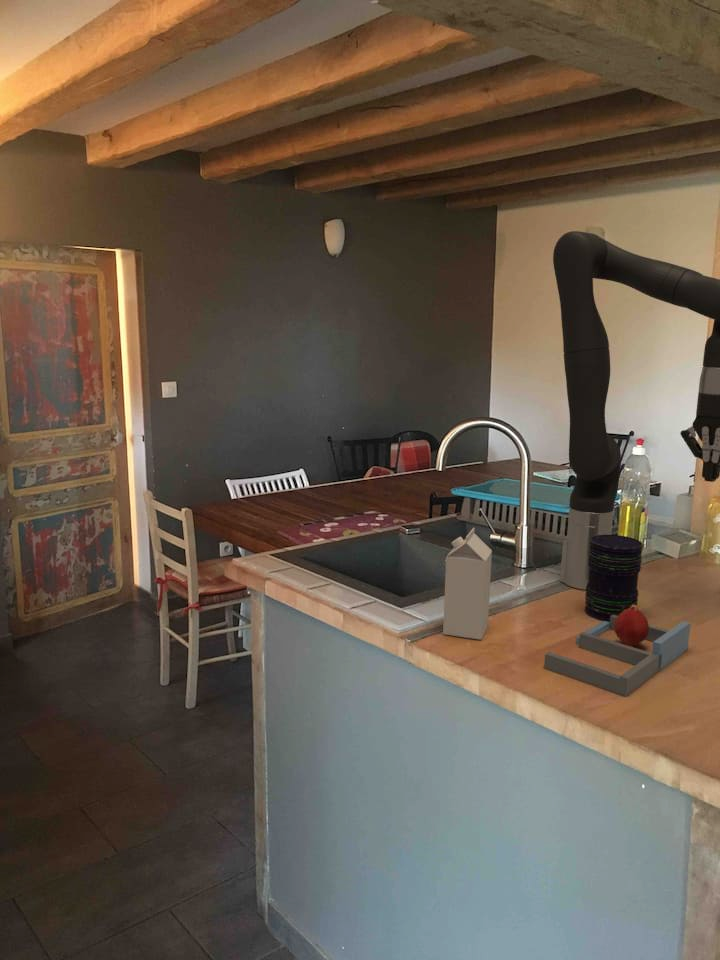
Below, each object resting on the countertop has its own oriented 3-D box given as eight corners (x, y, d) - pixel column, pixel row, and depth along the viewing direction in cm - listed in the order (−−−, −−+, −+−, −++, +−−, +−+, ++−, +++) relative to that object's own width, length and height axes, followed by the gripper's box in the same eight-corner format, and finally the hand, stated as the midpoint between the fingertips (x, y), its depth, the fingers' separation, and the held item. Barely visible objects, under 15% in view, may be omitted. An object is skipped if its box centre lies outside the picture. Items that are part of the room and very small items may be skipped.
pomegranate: (607, 640, 140) (611, 598, 138) (638, 640, 140) (642, 598, 139) (620, 654, 134) (624, 610, 133) (652, 653, 135) (656, 610, 133)
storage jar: (639, 610, 155) (646, 539, 152) (631, 626, 147) (638, 551, 144) (589, 601, 160) (595, 531, 157) (578, 616, 151) (584, 543, 148)
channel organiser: (537, 665, 129) (539, 637, 128) (606, 625, 147) (608, 600, 146) (625, 696, 119) (628, 666, 118) (687, 649, 137) (690, 622, 136)
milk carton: (488, 626, 145) (493, 529, 141) (481, 641, 139) (486, 539, 135) (451, 621, 148) (455, 525, 144) (442, 635, 141) (446, 535, 137)
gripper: (677, 389, 147) (668, 478, 151) (751, 395, 138) (739, 489, 142) (691, 388, 153) (683, 473, 156) (763, 392, 144) (752, 483, 147)
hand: (710, 480), depth 149 cm, fingers closed
